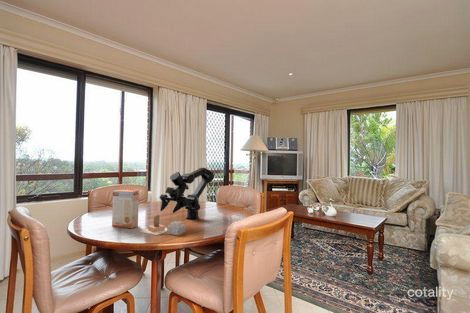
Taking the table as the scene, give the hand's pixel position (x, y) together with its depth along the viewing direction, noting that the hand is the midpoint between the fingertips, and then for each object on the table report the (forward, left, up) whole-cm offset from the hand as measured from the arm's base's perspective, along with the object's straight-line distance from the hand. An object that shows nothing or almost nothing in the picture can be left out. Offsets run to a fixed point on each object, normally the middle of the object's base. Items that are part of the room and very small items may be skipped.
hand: (166, 211), depth 145 cm
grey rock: (+12, -6, -9) cm, 16 cm away
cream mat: (0, -8, -9) cm, 12 cm away
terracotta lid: (0, -8, -9) cm, 12 cm away
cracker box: (-22, -9, -9) cm, 26 cm away
